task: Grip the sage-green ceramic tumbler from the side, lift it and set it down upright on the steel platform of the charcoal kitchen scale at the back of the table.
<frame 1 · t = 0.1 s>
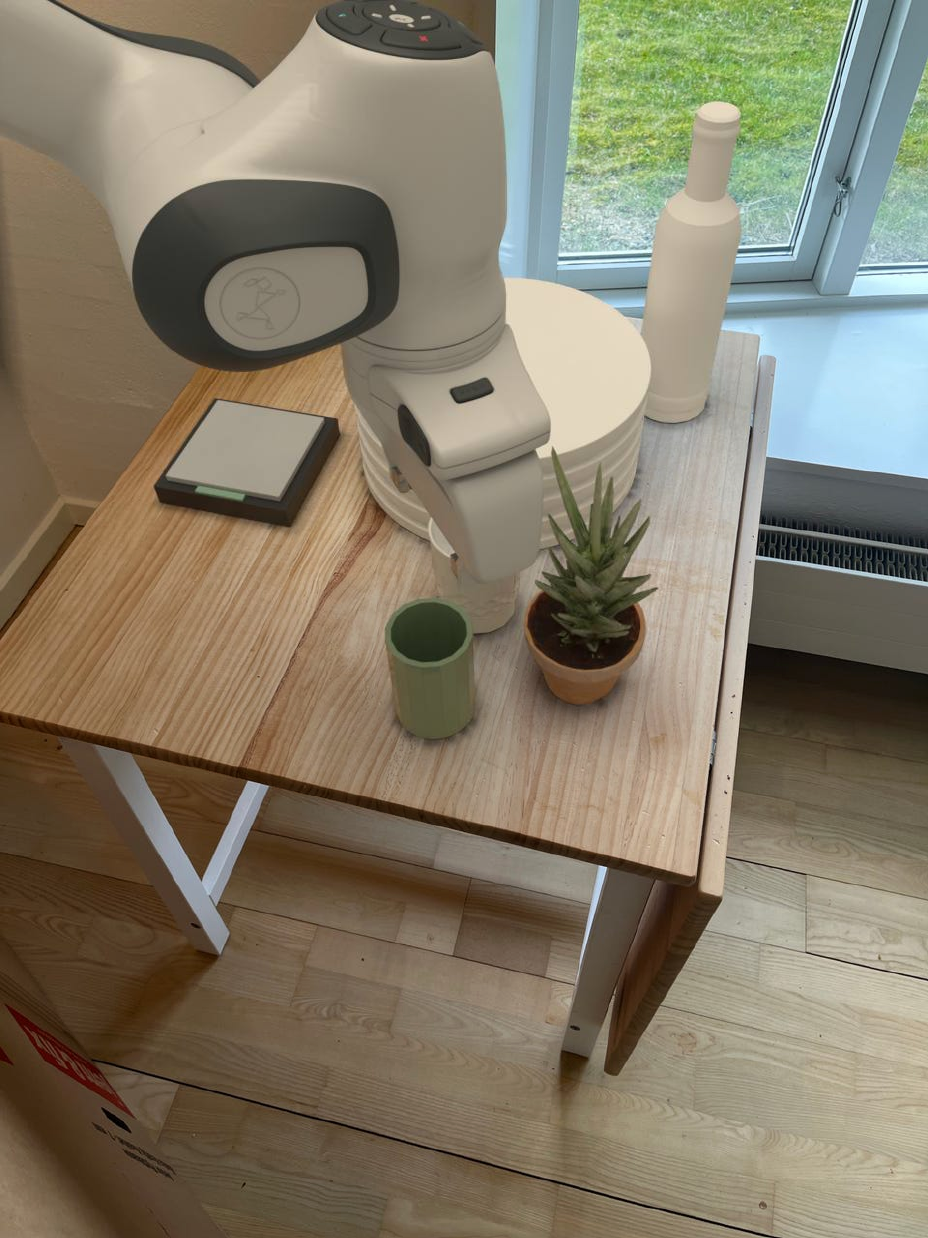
hand: (436, 528, 62), 21 cm above the table, tool pointing down, fingers open, 8 cm apart
potted plant: (579, 678, 80), on the table
scale: (252, 467, 97), on the table
plate stack: (499, 455, 98), on the table
bottle: (668, 402, 102), on the table
white cup: (478, 606, 85), on the table
tumbler: (435, 705, 78), on the table
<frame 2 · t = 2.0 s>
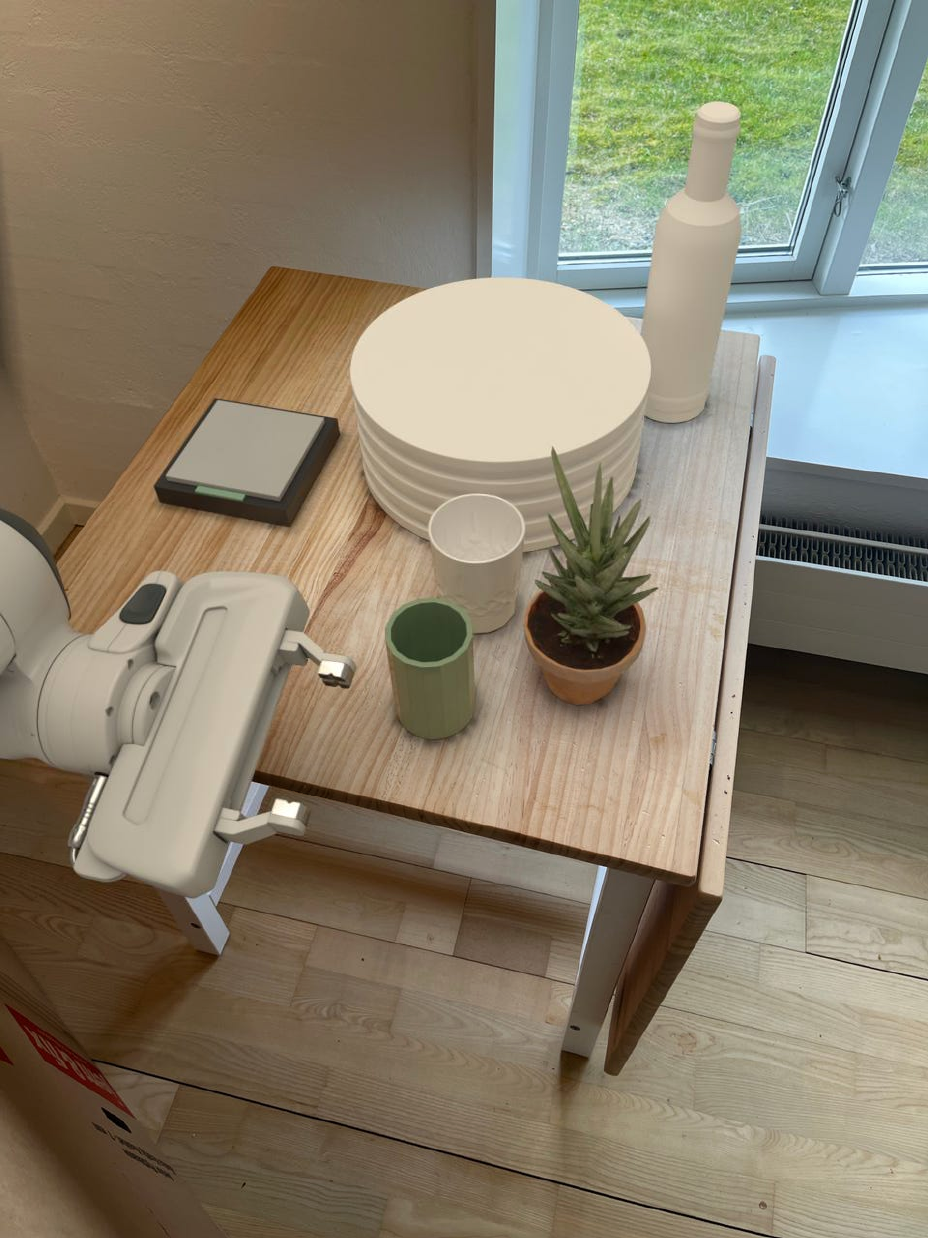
hand: (329, 744, 56), 17 cm above the table, tool horizontal, fingers open, 8 cm apart
nothing on the table moved.
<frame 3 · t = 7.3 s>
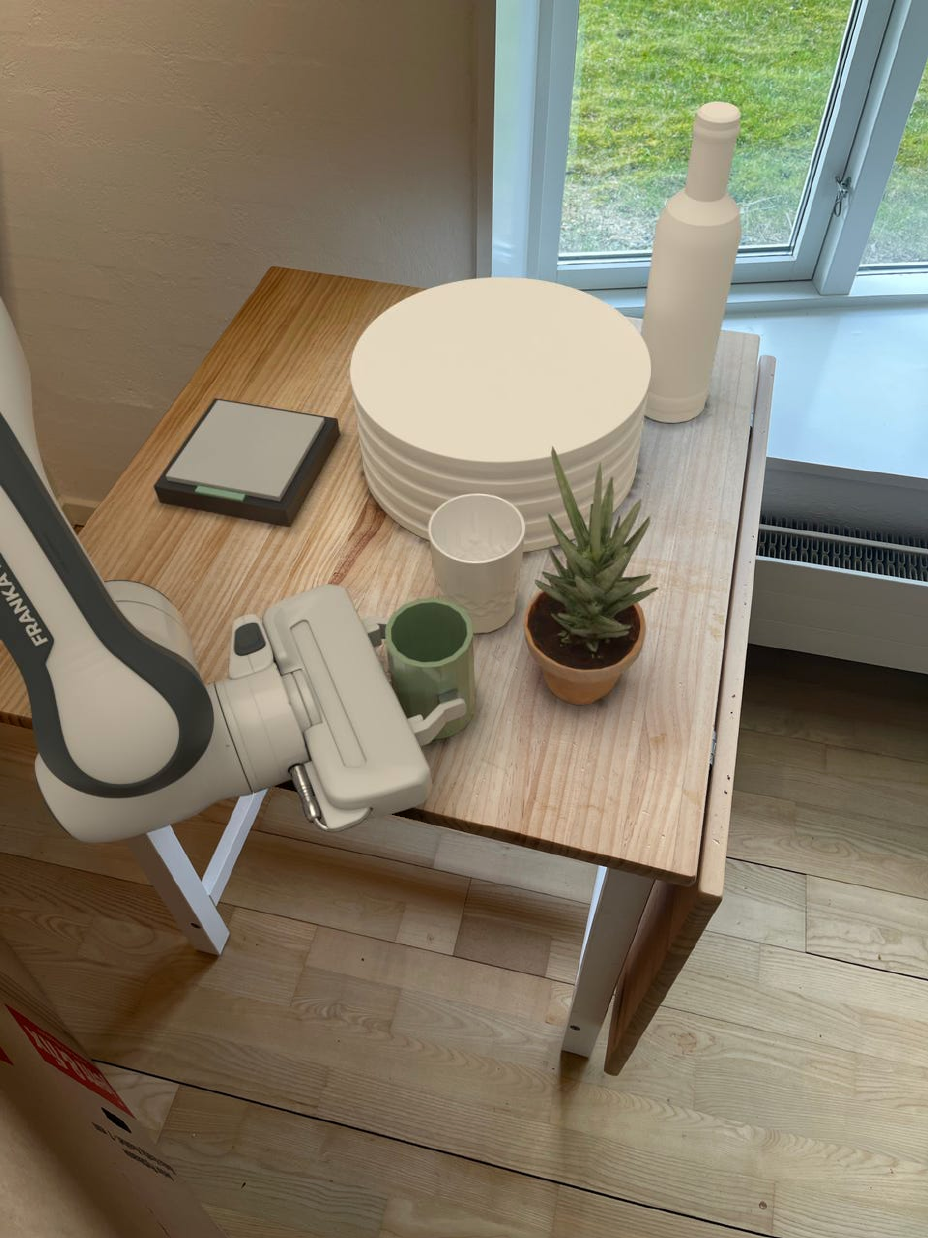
hand: (442, 662, 74), 6 cm above the table, tool horizontal, fingers closed on tumbler, 6 cm apart
tumbler: (435, 705, 78), on the table, touching gripper
everything else where it was.
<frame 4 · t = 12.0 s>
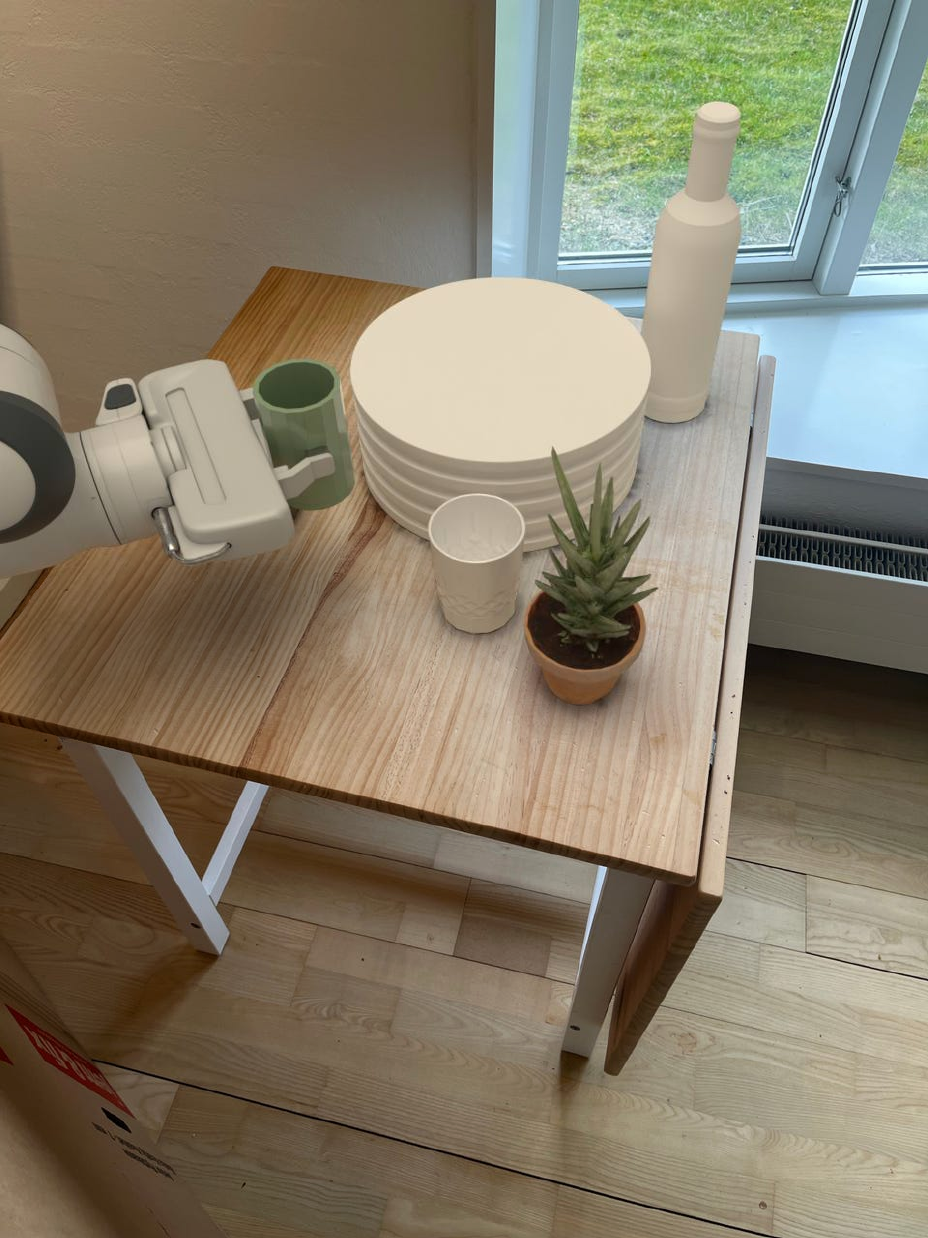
hand: (316, 427, 75), 17 cm above the table, tool horizontal, fingers closed on tumbler, 6 cm apart
tumbler: (316, 483, 79), point 11 cm above the table, touching gripper
everything else where it was.
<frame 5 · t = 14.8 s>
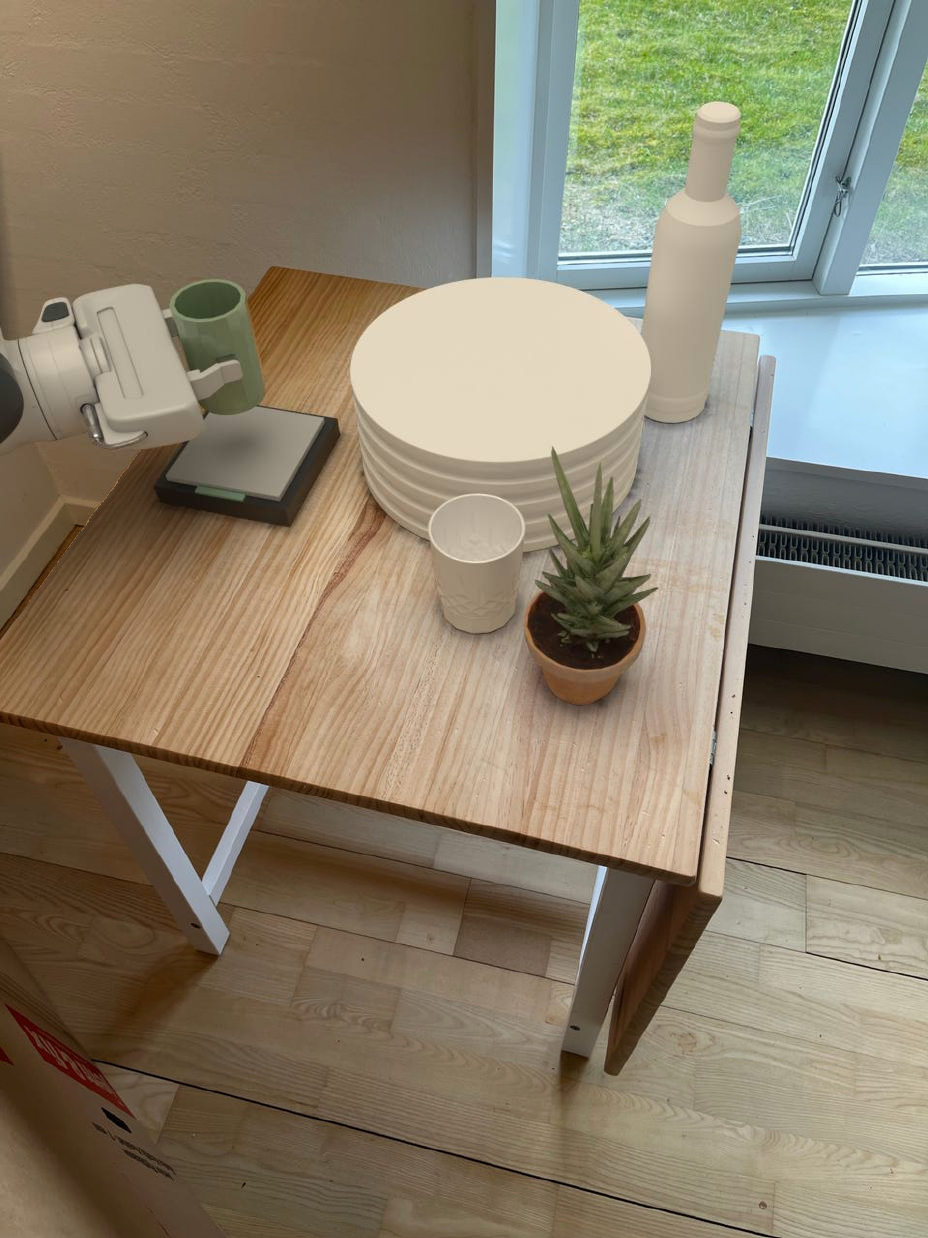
hand: (228, 340, 86), 15 cm above the table, tool horizontal, fingers closed on tumbler, 6 cm apart
tumbler: (232, 393, 90), point 9 cm above the table, touching gripper
everything else where it was.
when the fingers open (8 cm above the table, at t = 17.2 s): tumbler stays where it is, resting on scale.
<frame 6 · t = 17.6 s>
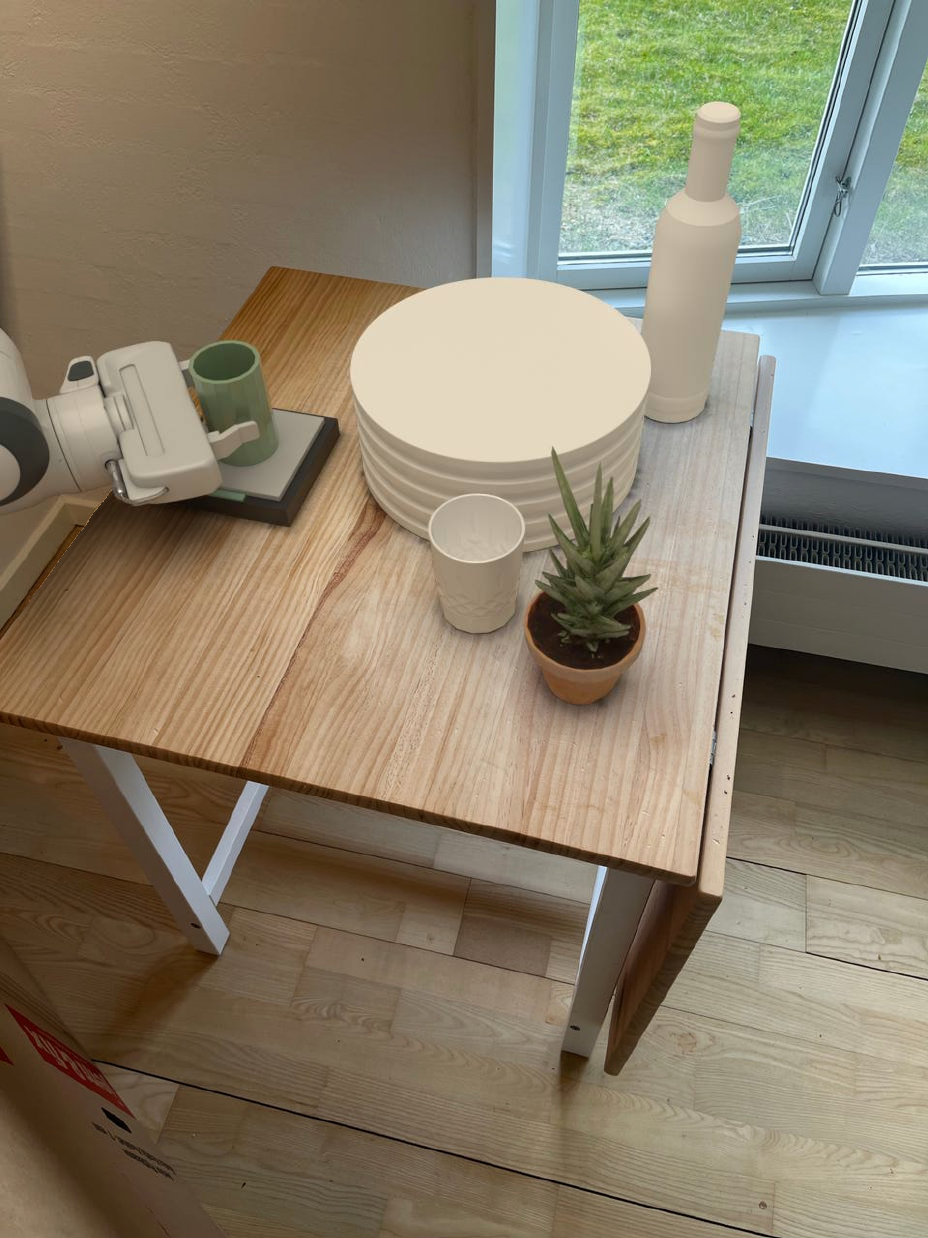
hand: (243, 396, 90), 9 cm above the table, tool horizontal, fingers open, 8 cm apart
tumbler: (246, 444, 95), point 3 cm above the table, touching scale
everything else where it was.
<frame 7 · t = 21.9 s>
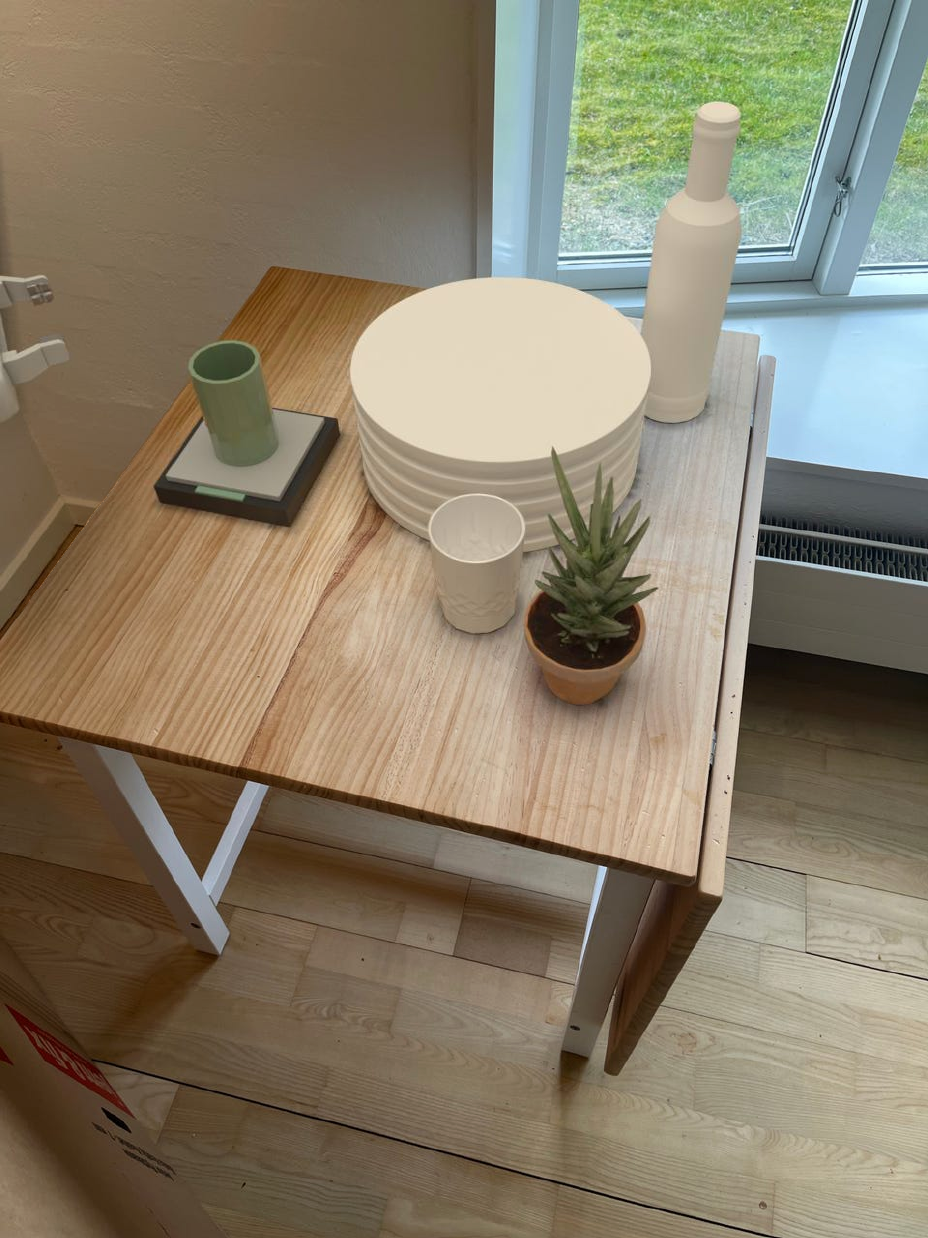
hand: (58, 315, 78), 21 cm above the table, tool horizontal, fingers open, 8 cm apart
nothing on the table moved.
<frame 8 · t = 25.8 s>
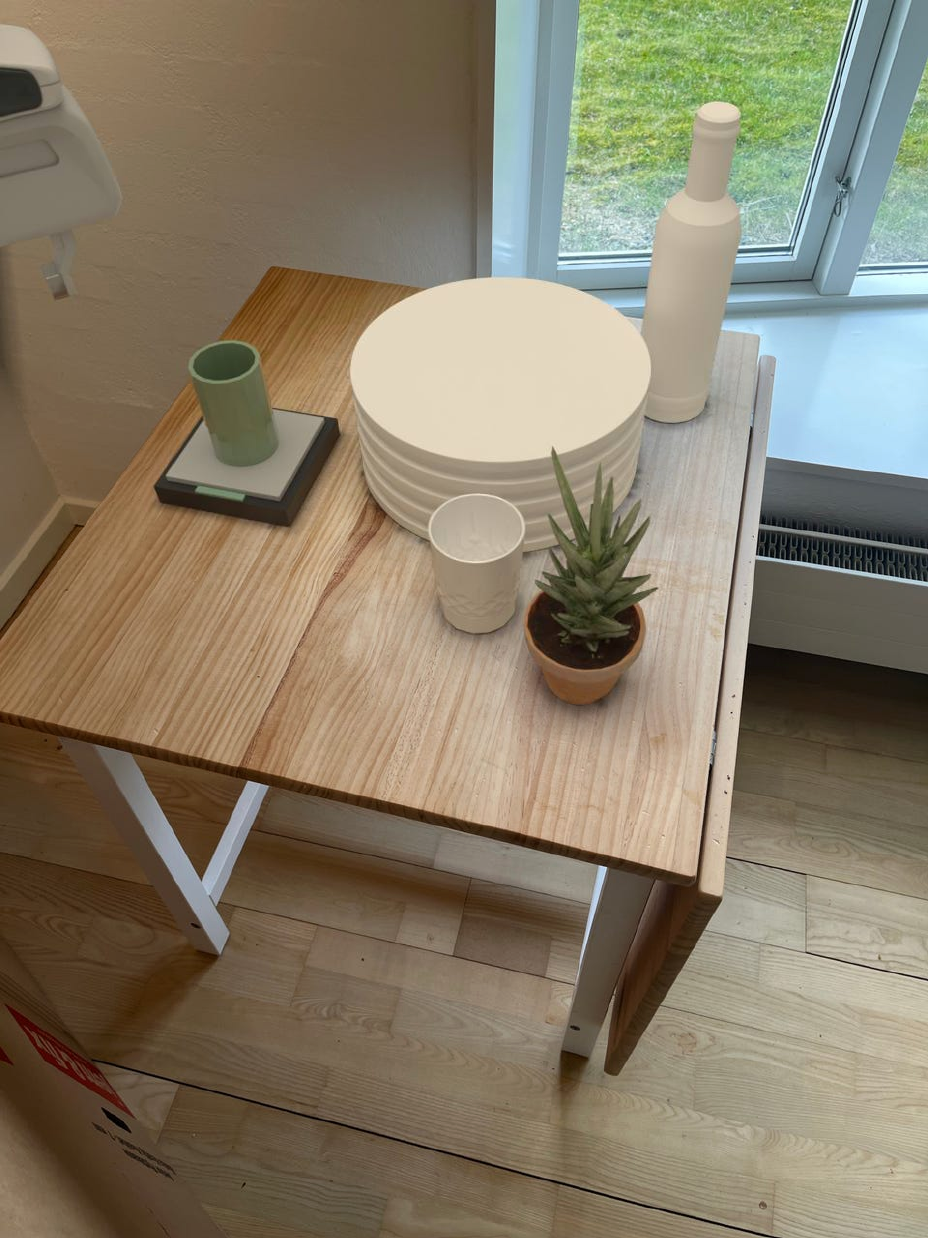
nothing on the table moved.
at the end: tumbler inside the target area on the scale (0.1 cm from its centre), point 2.9 cm above the scale's base; tumbler tilted 0°; the gripper is holding nothing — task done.
